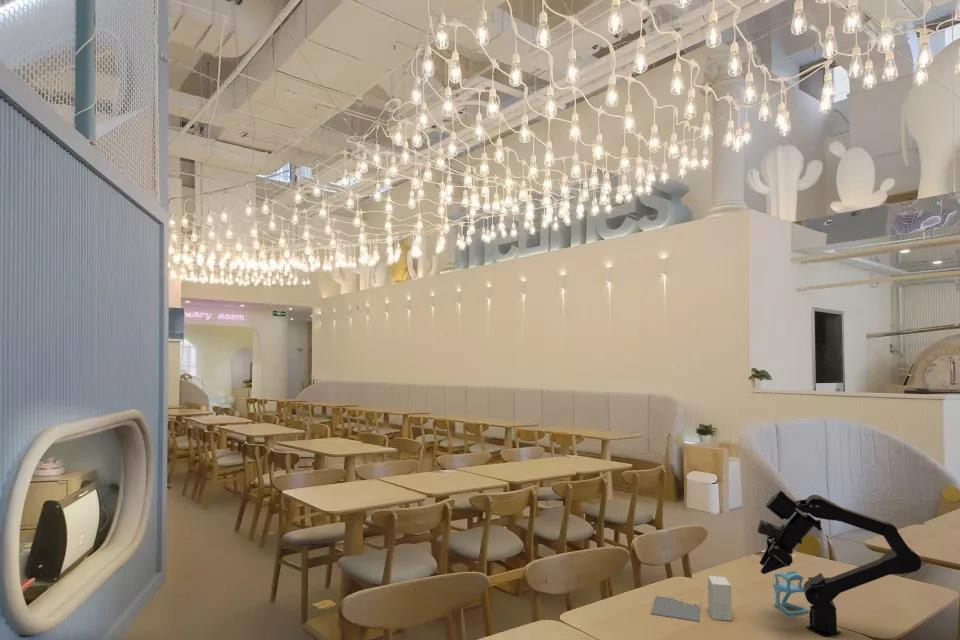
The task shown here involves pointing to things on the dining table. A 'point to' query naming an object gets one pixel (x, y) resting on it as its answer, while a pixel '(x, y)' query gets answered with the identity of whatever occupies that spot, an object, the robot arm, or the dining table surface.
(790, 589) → the chair
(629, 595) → the dining table surface
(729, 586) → the small box
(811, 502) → the robot arm
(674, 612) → the mat
